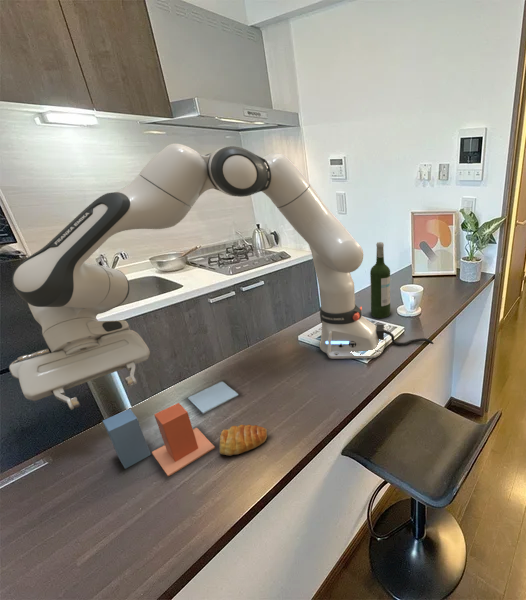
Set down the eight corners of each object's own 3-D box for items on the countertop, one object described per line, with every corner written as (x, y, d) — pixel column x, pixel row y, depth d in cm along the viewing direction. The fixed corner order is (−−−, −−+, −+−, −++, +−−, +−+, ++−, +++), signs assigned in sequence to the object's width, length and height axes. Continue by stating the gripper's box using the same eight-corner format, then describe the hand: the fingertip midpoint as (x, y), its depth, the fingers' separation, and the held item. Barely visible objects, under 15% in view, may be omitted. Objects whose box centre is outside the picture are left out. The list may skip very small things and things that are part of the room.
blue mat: (187, 398, 85) (187, 397, 85) (222, 382, 92) (222, 381, 92) (203, 414, 80) (202, 412, 80) (238, 395, 87) (238, 394, 87)
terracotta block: (166, 450, 69) (153, 414, 66) (189, 438, 73) (178, 402, 69) (175, 462, 67) (162, 424, 63) (198, 448, 70) (187, 411, 66)
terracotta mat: (151, 453, 69) (151, 452, 69) (197, 428, 76) (196, 427, 76) (168, 476, 64) (167, 475, 64) (215, 448, 71) (214, 446, 71)
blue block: (118, 457, 68) (102, 420, 64) (143, 444, 71) (129, 408, 68) (125, 469, 66) (108, 431, 62) (151, 454, 69) (137, 418, 65)
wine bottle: (376, 309, 140) (375, 239, 128) (393, 312, 137) (393, 241, 125) (367, 316, 133) (365, 243, 122) (384, 319, 130) (384, 246, 118)
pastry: (267, 427, 77) (265, 414, 75) (267, 449, 71) (264, 436, 69) (223, 437, 74) (220, 424, 72) (219, 461, 68) (215, 447, 66)
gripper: (1, 355, 60) (31, 419, 59) (134, 318, 75) (161, 368, 74) (9, 366, 65) (37, 427, 63) (133, 329, 80) (159, 377, 78)
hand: (105, 395), depth 68 cm, fingers open, 8 cm apart
